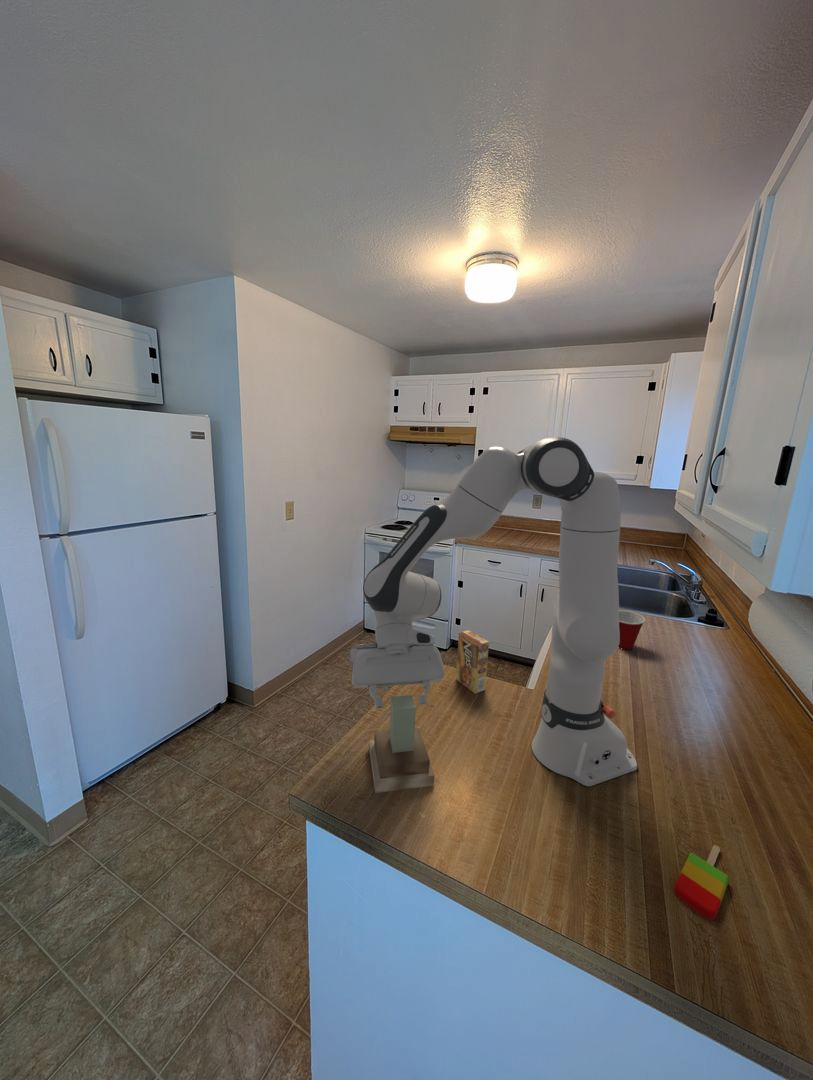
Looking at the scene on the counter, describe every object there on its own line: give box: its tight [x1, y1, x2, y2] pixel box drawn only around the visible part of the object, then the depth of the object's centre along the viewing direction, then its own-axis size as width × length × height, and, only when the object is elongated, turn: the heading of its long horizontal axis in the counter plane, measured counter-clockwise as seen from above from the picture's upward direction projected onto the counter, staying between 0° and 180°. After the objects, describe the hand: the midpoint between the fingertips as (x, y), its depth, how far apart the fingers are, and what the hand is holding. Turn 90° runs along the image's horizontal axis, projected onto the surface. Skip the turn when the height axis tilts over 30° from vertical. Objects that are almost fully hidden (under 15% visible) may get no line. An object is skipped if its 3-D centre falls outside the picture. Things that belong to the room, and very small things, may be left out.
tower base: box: [368, 739, 435, 794], centre depth 87 cm, size 12×12×3 cm
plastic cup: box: [618, 610, 646, 651], centre depth 147 cm, size 11×11×12 cm
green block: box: [389, 694, 417, 753], centre depth 86 cm, size 4×4×10 cm
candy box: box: [455, 629, 490, 695], centre depth 118 cm, size 9×4×15 cm, turn 34°
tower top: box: [373, 727, 431, 779], centre depth 87 cm, size 10×10×3 cm
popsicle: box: [673, 844, 730, 921], centre depth 67 cm, size 6×15×2 cm, turn 132°
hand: (401, 706), depth 86 cm, fingers open, 8 cm apart
